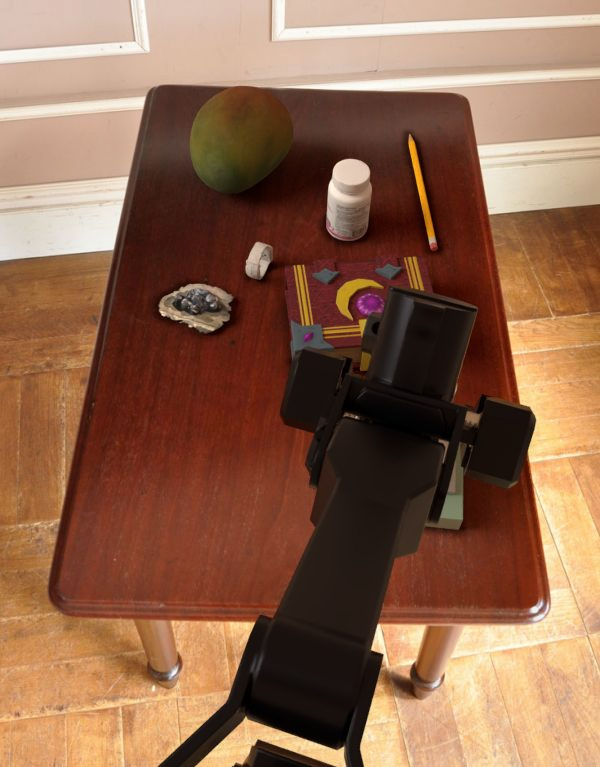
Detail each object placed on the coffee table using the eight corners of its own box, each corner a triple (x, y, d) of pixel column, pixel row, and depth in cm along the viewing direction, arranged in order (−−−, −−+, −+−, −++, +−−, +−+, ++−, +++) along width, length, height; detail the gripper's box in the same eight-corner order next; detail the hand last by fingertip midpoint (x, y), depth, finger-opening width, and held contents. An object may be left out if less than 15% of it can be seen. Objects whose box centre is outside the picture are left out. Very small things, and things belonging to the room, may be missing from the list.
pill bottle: (327, 210, 99) (331, 153, 92) (368, 213, 99) (375, 157, 92) (324, 240, 97) (327, 185, 90) (366, 244, 96) (373, 189, 89)
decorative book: (282, 290, 92) (283, 259, 88) (429, 279, 94) (436, 248, 90) (294, 377, 86) (295, 348, 82) (451, 364, 88) (459, 335, 83)
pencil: (430, 251, 96) (431, 247, 96) (406, 136, 107) (406, 131, 106) (437, 251, 96) (438, 246, 96) (412, 135, 107) (413, 131, 106)
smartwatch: (260, 288, 93) (260, 263, 89) (242, 282, 93) (241, 257, 90) (273, 265, 94) (273, 240, 91) (255, 259, 95) (255, 234, 92)
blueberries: (228, 338, 89) (227, 327, 87) (151, 332, 89) (149, 320, 87) (236, 288, 92) (236, 277, 91) (163, 282, 93) (161, 270, 91)
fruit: (296, 143, 105) (298, 73, 97) (285, 216, 99) (285, 148, 90) (203, 134, 106) (196, 65, 98) (184, 207, 99) (176, 138, 91)
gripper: (568, 361, 55) (548, 333, 70) (293, 289, 58) (331, 277, 73) (518, 519, 58) (510, 459, 73) (257, 442, 61) (300, 400, 76)
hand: (412, 396), depth 74 cm, fingers open, 9 cm apart
